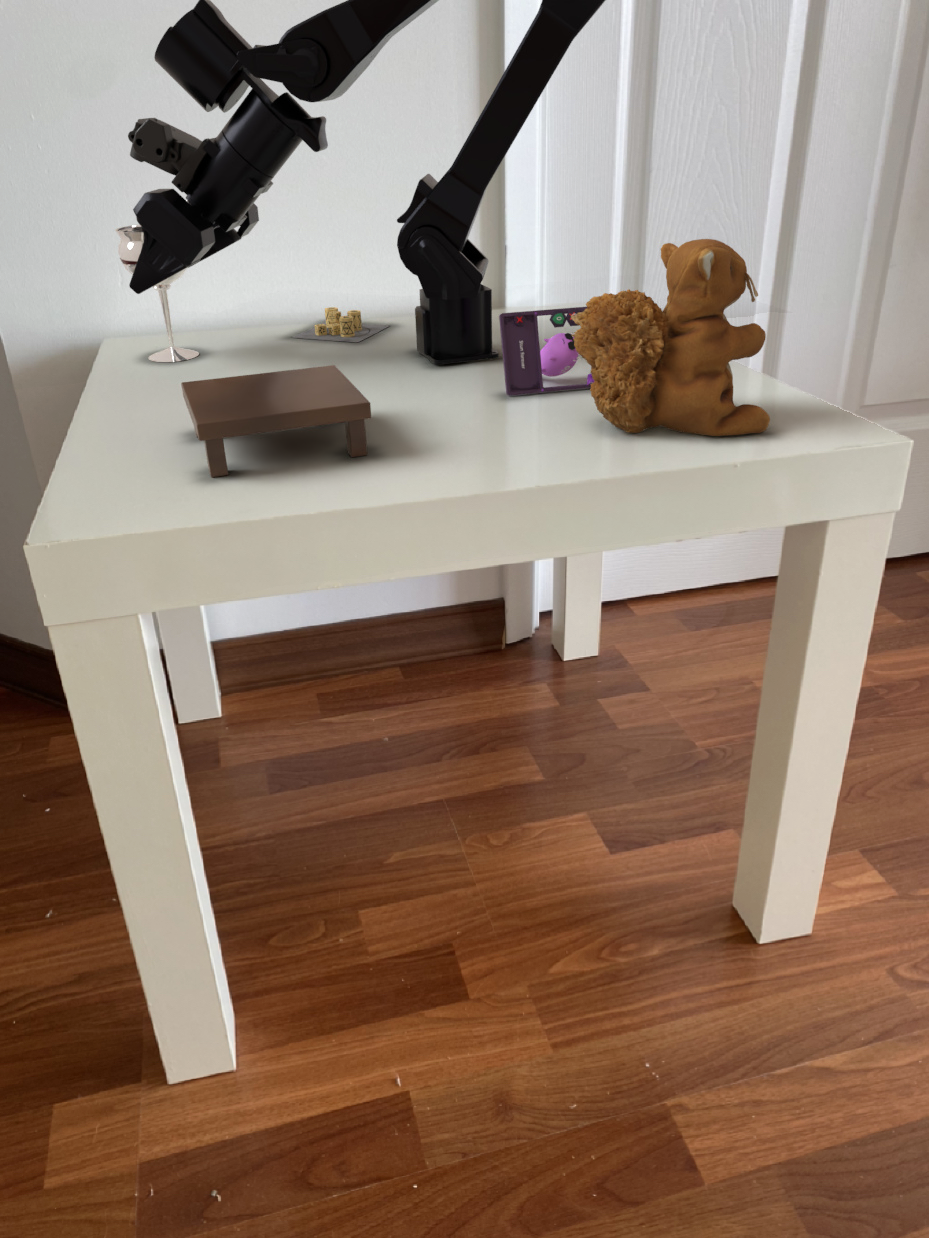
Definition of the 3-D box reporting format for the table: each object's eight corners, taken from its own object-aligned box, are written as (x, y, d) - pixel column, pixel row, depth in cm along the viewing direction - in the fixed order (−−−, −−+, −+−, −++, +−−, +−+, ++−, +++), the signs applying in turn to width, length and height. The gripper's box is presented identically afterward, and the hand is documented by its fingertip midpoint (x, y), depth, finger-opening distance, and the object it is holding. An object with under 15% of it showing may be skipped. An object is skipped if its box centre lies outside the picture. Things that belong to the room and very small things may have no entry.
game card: (502, 312, 79) (604, 304, 81) (486, 321, 84) (583, 313, 86) (510, 395, 80) (610, 385, 82) (494, 399, 85) (589, 389, 87)
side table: (339, 413, 78) (334, 364, 76) (374, 456, 69) (370, 402, 67) (189, 432, 75) (180, 382, 73) (205, 480, 66) (196, 424, 64)
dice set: (330, 324, 106) (328, 307, 106) (371, 327, 105) (369, 309, 104) (307, 335, 102) (305, 316, 101) (350, 338, 101) (348, 319, 100)
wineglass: (181, 366, 92) (159, 234, 86) (124, 361, 94) (98, 232, 88) (221, 349, 98) (202, 224, 92) (166, 345, 100) (144, 222, 94)
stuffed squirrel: (779, 433, 71) (806, 246, 65) (599, 451, 69) (608, 258, 62) (720, 396, 80) (739, 227, 73) (559, 410, 77) (563, 237, 71)
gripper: (210, 81, 92) (122, 206, 98) (136, 83, 76) (36, 232, 82) (299, 170, 95) (208, 285, 101) (246, 190, 79) (141, 326, 85)
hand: (152, 281), depth 92 cm, fingers open, 9 cm apart
